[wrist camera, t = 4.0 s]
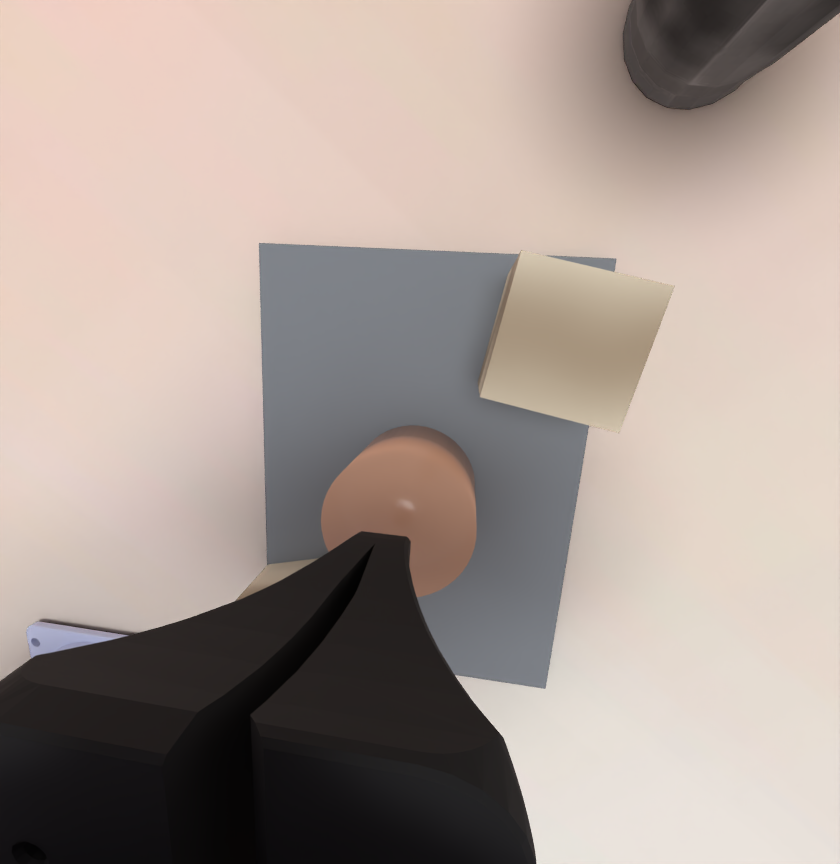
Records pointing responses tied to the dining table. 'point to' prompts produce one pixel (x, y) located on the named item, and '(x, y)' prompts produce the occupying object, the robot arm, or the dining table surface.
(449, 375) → the slate mat
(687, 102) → the beverage cup
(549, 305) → the birch cube
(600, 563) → the dining table surface
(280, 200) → the dining table surface
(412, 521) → the tan rounded piece
